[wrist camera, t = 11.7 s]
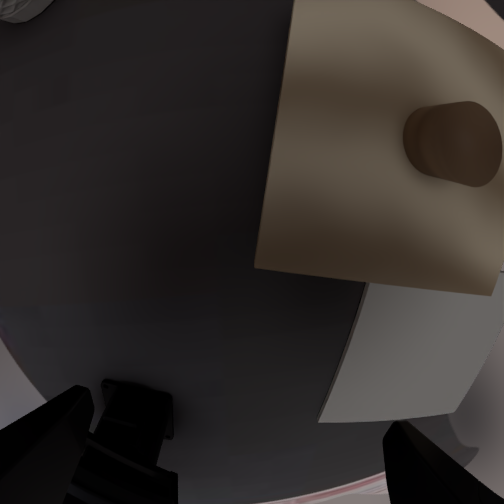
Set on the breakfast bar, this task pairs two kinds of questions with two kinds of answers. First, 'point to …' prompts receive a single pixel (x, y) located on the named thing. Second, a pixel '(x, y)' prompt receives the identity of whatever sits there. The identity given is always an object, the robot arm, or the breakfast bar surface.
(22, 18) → the white cup
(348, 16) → the lid
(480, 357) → the mat
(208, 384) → the breakfast bar surface
